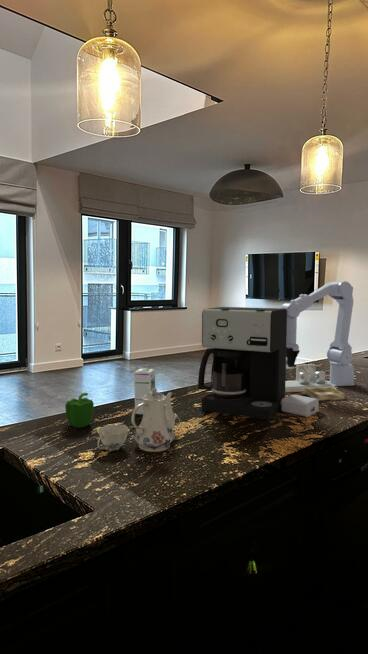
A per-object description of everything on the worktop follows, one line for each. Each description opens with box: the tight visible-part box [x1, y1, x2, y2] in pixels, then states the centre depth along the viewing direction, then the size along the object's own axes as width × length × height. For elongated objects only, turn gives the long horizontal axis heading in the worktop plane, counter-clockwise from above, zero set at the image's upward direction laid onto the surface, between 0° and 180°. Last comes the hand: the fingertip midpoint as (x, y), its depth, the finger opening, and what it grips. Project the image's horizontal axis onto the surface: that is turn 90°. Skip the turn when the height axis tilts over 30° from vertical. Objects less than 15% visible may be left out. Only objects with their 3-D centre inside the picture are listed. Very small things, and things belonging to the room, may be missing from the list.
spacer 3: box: [314, 370, 326, 384], centre depth 188 cm, size 4×4×4 cm
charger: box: [280, 394, 320, 418], centre depth 154 cm, size 5×9×15 cm
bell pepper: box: [64, 392, 95, 429], centre depth 137 cm, size 8×8×10 cm
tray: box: [304, 387, 346, 401], centre depth 174 cm, size 11×11×2 cm
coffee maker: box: [197, 306, 287, 421], centre depth 157 cm, size 28×20×35 cm
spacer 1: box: [286, 356, 295, 370], centre depth 184 cm, size 4×4×4 cm
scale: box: [285, 363, 336, 393], centre depth 188 cm, size 22×13×8 cm, turn 100°
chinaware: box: [96, 386, 181, 453], centre depth 122 cm, size 28×17×17 cm, turn 141°
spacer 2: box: [298, 372, 310, 385], centre depth 186 cm, size 4×4×4 cm
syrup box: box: [133, 367, 156, 415], centre depth 152 cm, size 6×6×14 cm
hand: (288, 365), depth 185 cm, fingers closed on spacer 1, 4 cm apart
